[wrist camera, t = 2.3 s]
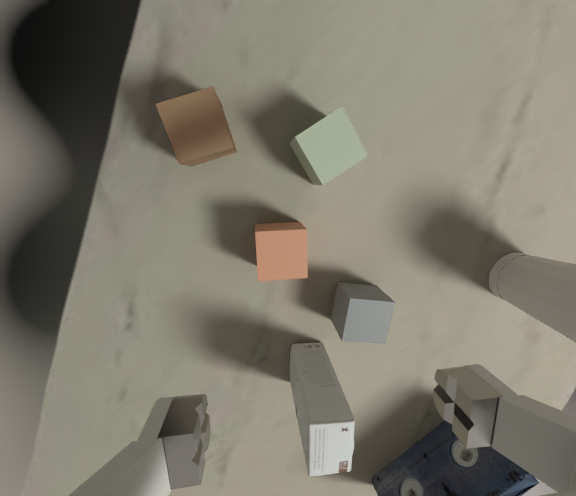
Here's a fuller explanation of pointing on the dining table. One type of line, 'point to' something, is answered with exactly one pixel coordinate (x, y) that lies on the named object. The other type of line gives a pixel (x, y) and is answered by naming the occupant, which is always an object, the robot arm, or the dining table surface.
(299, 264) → the terracotta cube
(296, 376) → the skincare box
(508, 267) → the cup
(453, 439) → the vhs cassette tape
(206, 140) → the walnut cube
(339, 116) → the sage cube
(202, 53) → the dining table surface
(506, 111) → the dining table surface
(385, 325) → the slate cube
